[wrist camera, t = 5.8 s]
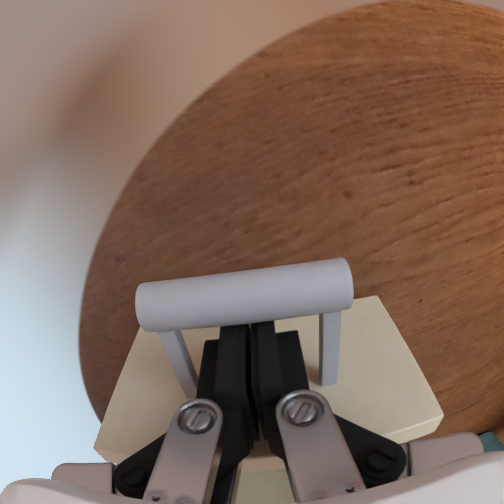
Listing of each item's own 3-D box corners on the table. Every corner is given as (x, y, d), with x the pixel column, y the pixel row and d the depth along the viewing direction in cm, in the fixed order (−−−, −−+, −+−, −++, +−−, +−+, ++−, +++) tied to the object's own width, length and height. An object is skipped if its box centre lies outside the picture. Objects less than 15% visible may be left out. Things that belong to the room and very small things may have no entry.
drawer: (109, 237, 13) (13, 351, 6) (381, 200, 12) (497, 296, 5) (205, 450, 21) (199, 530, 14) (352, 434, 21) (372, 513, 13)
